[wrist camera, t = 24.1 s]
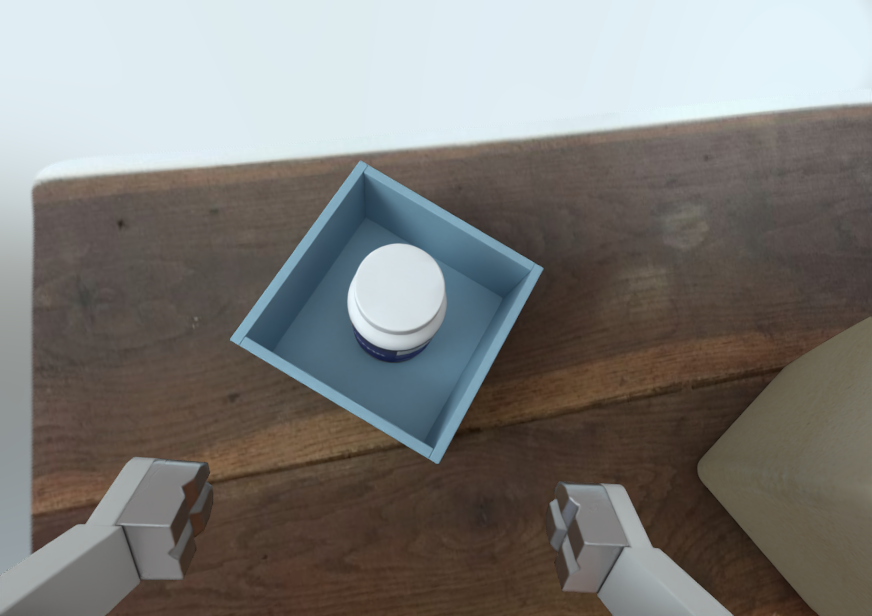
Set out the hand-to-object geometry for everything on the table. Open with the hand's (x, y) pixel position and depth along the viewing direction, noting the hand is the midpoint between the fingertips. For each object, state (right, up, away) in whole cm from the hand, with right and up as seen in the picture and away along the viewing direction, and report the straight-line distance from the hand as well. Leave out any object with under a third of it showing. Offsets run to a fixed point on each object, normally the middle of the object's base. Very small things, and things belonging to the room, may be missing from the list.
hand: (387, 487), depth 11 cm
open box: (-2, +3, +23) cm, 23 cm away
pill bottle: (-2, +3, +22) cm, 23 cm away
